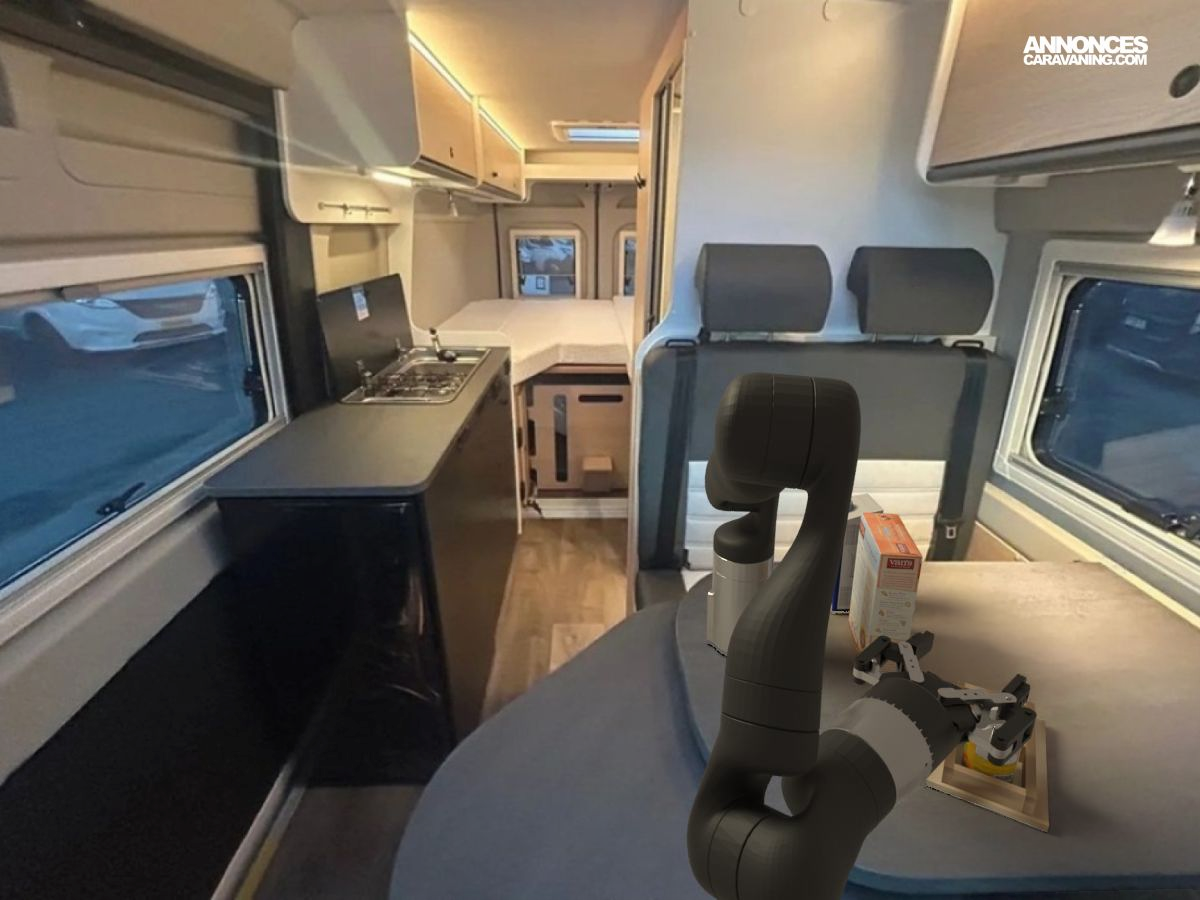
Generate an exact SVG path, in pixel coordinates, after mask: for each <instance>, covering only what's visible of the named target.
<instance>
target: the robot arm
mask: <svg viewBox="0 0 1200 900" xmlns="http://www.w3.org/2000/svg"><path fill="white" fill-rule="evenodd" d="M861 413H862V412H861V405H860V399H859V396H858V393H857V391H856V390H855V388H854V387H853V386H852V385H851V384H850V383H849V382H848V381H846V380H842V379H837V378H828V377H822V376H821V377H820V376H806V375H796V374H795V375H794V374H784V373H783V374H781V373H776V372H775V373H774V372H773V373H771V372H762V371H761V372H748V373H743V374H740V375H738V376H736V377H735V378H734V379H732V381H730V383H729V384H727V387H726V388H725V390H724V392H723V394H722V396H721V399H720V401H719V404H718V408H717V412H716V415H715V416H716V417H715V423H714V446H713V448H712V453H711V454H710V456H709V458H708V461H707V463H706V468H705V471H704V472H705V473H704V489H705V494H706V498H707V501H708V502H709V504H710V506H712V508H714V509H716V510H718V511H721V512H736V513H737V512H739V513H747V514H745V515H743V516H740V517H739V518H735V519H731V520H730V521H726V522H723V523H722V524H721V525H718V527H717V528H716V529H715V531H714V534H713V539H712V540H713V542H712V543H713V544H712V551H713V552H712V583H711V585H712V587H711V588H710V589H709V591H708V592H707V598H706V599H707V600H706V601H707V602H706V639H707V640H710V641H712V642H713V643H714V644H715V645H716V646H717V647H718V648H720V649H721V650H723V651H725V652H727V657H726V656H725V657H726V658H725V664H724V665H725V666H724V675H723V676H724V677H723V686H722V696H721V697H722V698H721V700H722V701H721V708H720V709H721V712H720V722H719V729H718V733H717V736H716V739H715V742H714V744H713V747H712V750H711V752H710V755H709V758H708V761H707V763H706V766H705V768H704V769H705V770H704V772H703V775H702V778H701V780H700V783H699V786H698V789H697V792H696V794H695V797H694V800H693V803H692V806H691V809H690V813H689V817H688V822H687V829H686V850H687V855H688V856H687V857H688V861H689V866H690V868H691V869H690V870H691V871H692V874H693V876H694V878H695V880H696V881H697V883H698V884H699V886H700V887H701V888H702V889H703V890H704V891H705V892H706V893H708V894H709V896H711V897H713V898H714V899H716V900H841V899H842V897H843V894H844V891H845V888H846V884H847V882H848V880H849V877H850V875H851V872H852V871H853V868H854V866H855V864H856V861H857V858H858V856H859V854H860V852H861V850H862V847H863V844H864V842H865V841H866V838H867V836H869V835H870V834H871V833H873V831H874V829H875V828H877V827H878V825H879V824H880V823H881V822H882V821H883V820H884V819H885V818H886V817H887V816H888V815H889V814H890V813H891V812H892V810H894V808H895V807H897V806H898V805H900V804H901V803H903V802H905V801H906V800H907V799H909V798H910V797H911V796H912V795H913V794H914V793H915V792H916V791H917V790H918V789H920V788H922V787H923V786H924V785H925V784H926V781H927V778H928V777H929V776H930V775H931V774H932V772H933V771H934V770H935V769H936V768H937V767H938V766H939V765H940V764H941V763H942V762H943V761H944V760H945V759H946V757H947V756H948V755H949V754H950V753H951V752H952V751H953V750H954V748H955V747H956V746H957V745H958V744H960V743H966V742H969V741H971V742H973V743H974V744H976V745H978V746H979V747H981V748H983V749H984V750H986V751H987V752H988V756H987V759H988V761H989V762H990V763H992V764H993V765H996V766H1003V765H1004V764H1005V763H1006V762H1007V761H1008V760H1009V759H1010V758H1011V757H1012V756H1013V755H1014V754H1015V753H1016V752H1017V751H1018V750H1019V749H1020V748H1021V747H1022V746H1023V745H1024V744H1025V743H1026V742H1027V741H1028V740H1029V739H1030V738H1031V736H1032V732H1033V728H1034V724H1035V721H1036V718H1038V714H1037V712H1036V710H1035V711H1034V710H1032V709H1030V708H1026V707H1022V706H1023V705H1024V704H1025V703H1026V702H1027V701H1028V699H1029V695H1030V691H1031V684H1029V683H1027V680H1028V679H1027V677H1026V676H1024V675H1022V674H1020V673H1017V674H1016V675H1015V676H1014V677H1013V678H1012V679H1011V680H1010V681H1009V682H1008V683H1007V684H1006V685H1005V686H1004V688H1003V689H1002V690H1001V692H998V693H986V692H985V690H983V689H966V690H962V688H960V687H958V686H956V684H954V683H951V682H949V681H946V680H944V679H942V678H941V677H940V676H938V675H937V674H935V673H934V672H932V671H929V670H927V671H923V670H921V667H920V664H919V662H920V660H922V659H923V658H924V657H926V655H927V654H929V653H930V652H931V650H932V648H933V645H934V640H935V633H934V632H931V631H930V630H925V631H924V632H923V633H922V632H921V631H919V632H916V633H914V634H913V635H912V636H910V638H909V639H908V640H907V641H905V642H904V641H901V642H899V643H894V642H891V639H890V638H889V637H887V636H883V635H882V636H879V637H878V638H877V639H876V640H874V641H873V642H872V643H871V644H870V645H869V646H868V647H867V648H866V649H864V650H863V651H862V652H861V653H860V654H859V655H858V654H857V655H856V657H854V661H853V667H852V669H853V670H852V676H851V680H852V683H854V684H855V685H859V686H863V685H865V684H866V683H867V684H870V685H872V686H871V687H870V688H868V690H866V691H865V692H864V693H862V695H861V696H860V697H858V698H857V699H856V700H854V702H852V703H851V704H850V705H849V706H847V707H846V708H845V709H843V710H842V711H841V712H840V713H839V714H838V715H836V717H835V718H834V719H833V720H832V721H831V722H830V724H828V725H827V727H826V728H825V730H823V731H822V732H821V733H820V730H821V729H820V728H821V713H822V696H823V692H822V691H823V680H824V677H823V676H824V664H825V663H824V662H825V661H824V660H825V653H826V641H827V636H828V628H829V622H830V621H829V620H830V615H831V612H830V610H831V605H832V599H833V594H834V589H835V585H836V580H837V575H838V570H839V565H840V560H841V554H842V549H843V544H844V538H845V533H846V527H847V521H848V514H849V508H850V503H851V497H852V496H853V491H854V485H855V481H856V480H855V479H856V473H857V467H858V461H859V453H860V445H861V433H862V429H861V428H862V414H861ZM785 489H793V490H796V489H797V490H799V491H805V492H806V493H807V501H806V506H805V511H804V515H803V519H802V520H801V524H800V527H799V529H798V532H797V534H796V536H795V538H794V540H793V542H792V543H791V545H790V547H789V548H788V550H787V551H786V553H785V555H784V556H783V557H782V559H781V560H780V562H779V563H778V565H776V568H775V567H774V565H775V564H774V563H775V551H776V550H775V547H776V535H777V534H776V531H777V519H778V509H779V502H780V496H781V495H780V494H781V493H782V492H783V491H784V490H785ZM774 568H775V569H774ZM888 660H890V661H893V662H896V663H895V664H896V668H897V672H886V673H883V674H880V672H879V671H880V668H881V667H882V666H883V665H884V664H885V663H886V662H887V661H888ZM970 704H974V707H973V711H972V709H971V706H970ZM993 707H998V710H991V709H992V708H993ZM990 724H1003V725H1002V726H1001V727H999V726H998V725H993V728H988V729H986V730H983V729H984V728H986V727H987V726H988V725H990ZM772 777H781V780H780V788H781V793H782V797H783V801H784V802H785V804H786V807H787V809H788V810H789V812H790V814H791V815H788V814H786V813H784V812H782V811H780V810H778V809H775V808H773V807H772V806H769V805H768V804H765V797H766V792H767V788H768V786H769V784H770V782H771V779H772Z"/></svg>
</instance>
